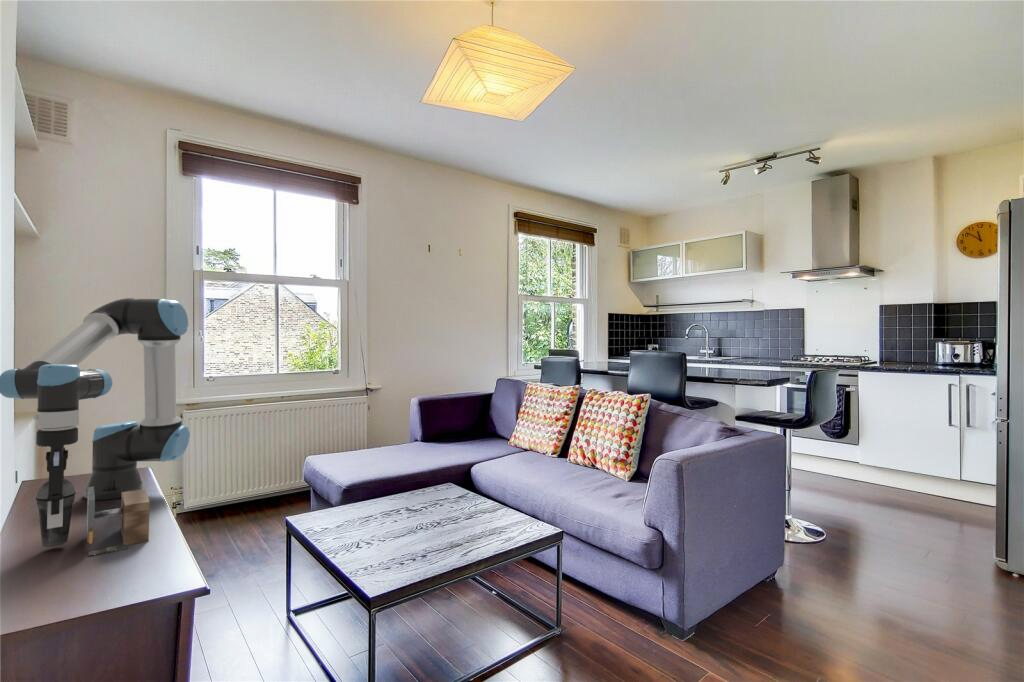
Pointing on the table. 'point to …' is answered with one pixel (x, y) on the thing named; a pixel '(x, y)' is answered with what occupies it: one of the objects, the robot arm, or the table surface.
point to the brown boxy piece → (132, 520)
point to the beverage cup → (61, 533)
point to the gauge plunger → (96, 514)
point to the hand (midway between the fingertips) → (55, 522)
